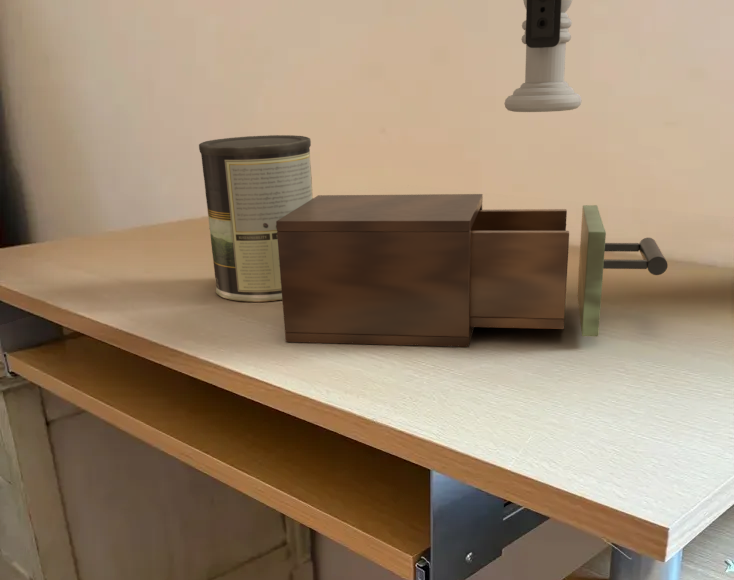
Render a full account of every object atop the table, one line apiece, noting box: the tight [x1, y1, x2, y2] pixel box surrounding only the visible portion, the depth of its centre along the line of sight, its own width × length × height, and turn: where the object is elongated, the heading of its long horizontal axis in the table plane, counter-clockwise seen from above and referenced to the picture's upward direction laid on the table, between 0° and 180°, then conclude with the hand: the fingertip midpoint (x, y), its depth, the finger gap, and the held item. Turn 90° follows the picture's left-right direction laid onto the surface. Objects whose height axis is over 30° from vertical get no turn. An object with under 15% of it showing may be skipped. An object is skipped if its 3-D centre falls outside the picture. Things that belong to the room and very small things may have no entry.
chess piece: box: [504, 0, 582, 113], centre depth 57 cm, size 5×5×9 cm
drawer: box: [470, 204, 669, 337], centre depth 66 cm, size 18×11×8 cm, turn 79°
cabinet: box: [276, 193, 484, 348], centre depth 69 cm, size 15×13×10 cm
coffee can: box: [198, 134, 314, 303], centre depth 79 cm, size 10×10×14 cm
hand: (544, 46), depth 57 cm, fingers closed on chess piece, 3 cm apart
